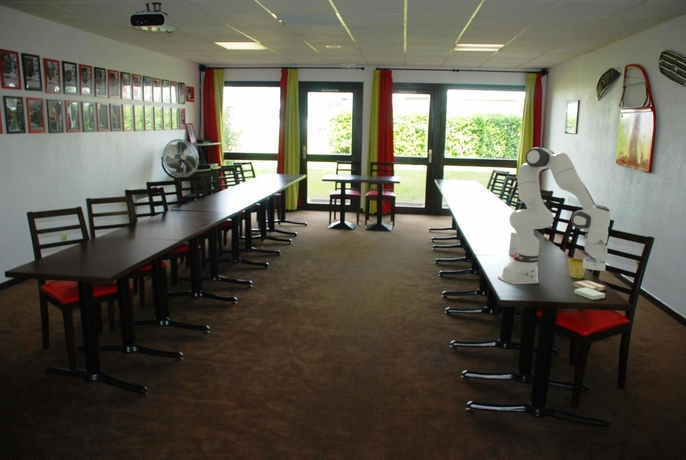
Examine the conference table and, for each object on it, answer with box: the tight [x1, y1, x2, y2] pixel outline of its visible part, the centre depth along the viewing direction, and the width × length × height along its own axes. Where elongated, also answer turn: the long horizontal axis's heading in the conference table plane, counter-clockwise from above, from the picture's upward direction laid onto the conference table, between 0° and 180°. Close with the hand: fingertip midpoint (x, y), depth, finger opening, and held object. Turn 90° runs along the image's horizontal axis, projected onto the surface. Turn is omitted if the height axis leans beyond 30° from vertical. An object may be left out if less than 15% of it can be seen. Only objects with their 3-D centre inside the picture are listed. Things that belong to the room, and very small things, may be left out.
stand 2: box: [573, 287, 606, 300], centre depth 276 cm, size 9×11×2 cm
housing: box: [582, 256, 606, 272], centre depth 272 cm, size 10×5×5 cm, turn 70°
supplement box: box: [508, 230, 518, 256], centre depth 352 cm, size 9×9×15 cm
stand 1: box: [572, 279, 606, 292], centre depth 288 cm, size 11×11×2 cm
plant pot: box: [567, 257, 586, 279], centre depth 307 cm, size 10×10×10 cm
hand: (593, 265), depth 272 cm, fingers closed on housing, 5 cm apart
